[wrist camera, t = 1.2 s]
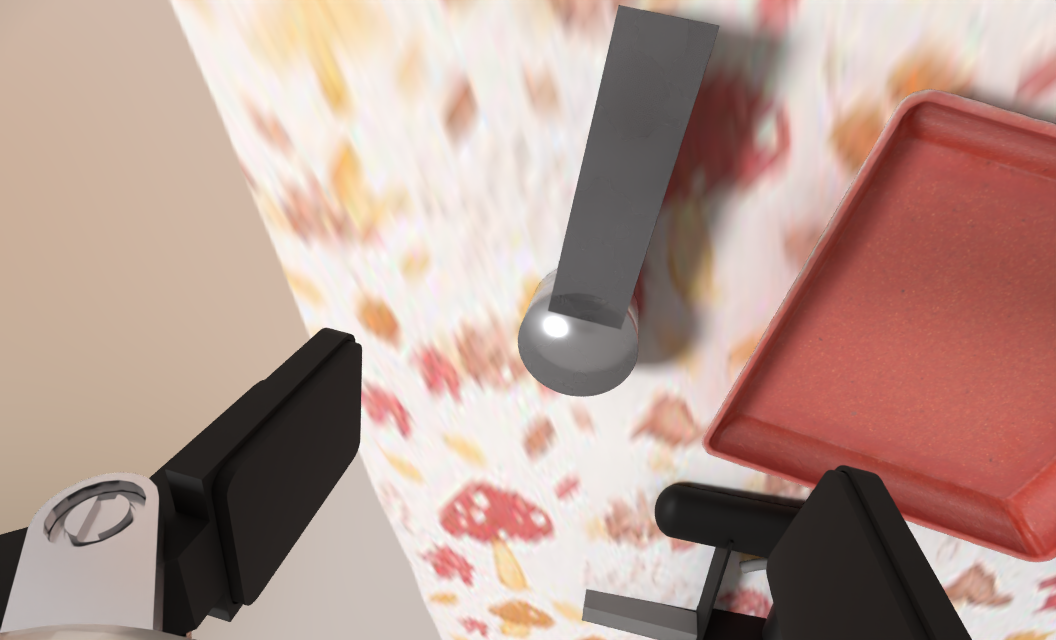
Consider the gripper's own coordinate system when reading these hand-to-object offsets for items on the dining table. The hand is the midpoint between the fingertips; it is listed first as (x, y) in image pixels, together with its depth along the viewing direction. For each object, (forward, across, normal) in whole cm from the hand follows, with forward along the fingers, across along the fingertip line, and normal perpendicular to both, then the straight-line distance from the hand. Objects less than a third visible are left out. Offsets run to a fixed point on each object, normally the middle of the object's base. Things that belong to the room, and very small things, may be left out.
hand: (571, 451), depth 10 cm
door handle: (+17, -13, +24) cm, 32 cm away
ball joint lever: (+16, 0, 0) cm, 16 cm away
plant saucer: (+17, -17, +2) cm, 24 cm away
